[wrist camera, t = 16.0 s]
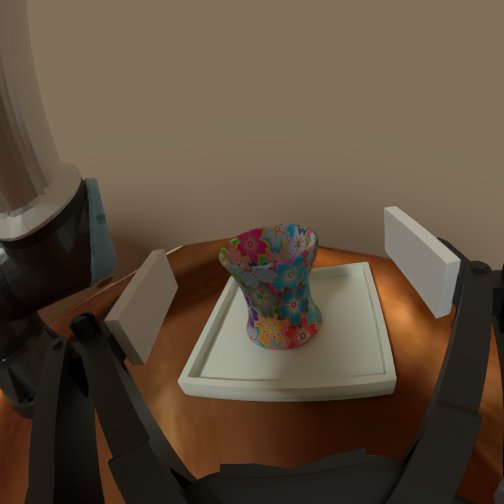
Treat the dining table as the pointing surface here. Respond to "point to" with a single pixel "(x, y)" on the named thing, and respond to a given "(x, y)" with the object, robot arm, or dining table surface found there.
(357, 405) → the dining table surface
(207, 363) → the tray
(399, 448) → the dining table surface
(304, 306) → the mug
